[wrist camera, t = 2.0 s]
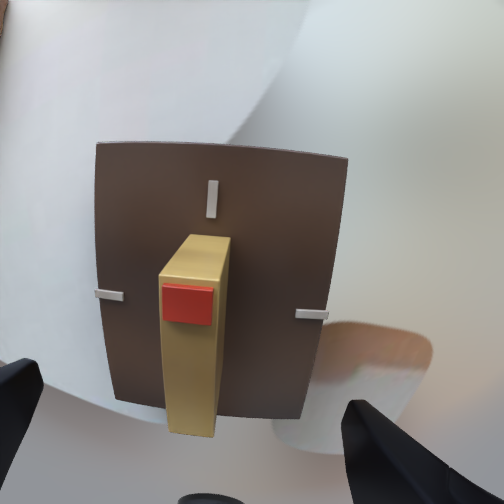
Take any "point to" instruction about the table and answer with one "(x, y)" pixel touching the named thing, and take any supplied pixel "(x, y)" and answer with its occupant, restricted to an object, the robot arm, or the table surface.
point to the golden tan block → (194, 332)
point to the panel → (240, 261)
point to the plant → (2, 13)
